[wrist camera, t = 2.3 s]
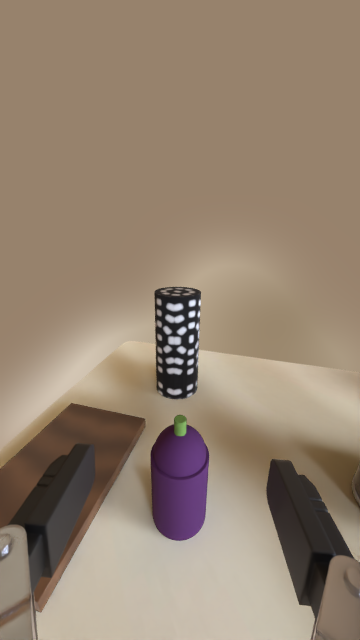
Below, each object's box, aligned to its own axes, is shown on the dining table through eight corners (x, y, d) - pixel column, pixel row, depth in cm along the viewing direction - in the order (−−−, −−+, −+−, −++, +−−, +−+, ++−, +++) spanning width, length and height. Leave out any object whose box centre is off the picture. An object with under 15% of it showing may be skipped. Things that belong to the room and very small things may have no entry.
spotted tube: (205, 388, 50) (210, 292, 44) (172, 405, 46) (173, 299, 39) (180, 371, 57) (181, 285, 50) (149, 384, 52) (145, 290, 45)
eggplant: (182, 475, 32) (183, 392, 28) (216, 514, 28) (224, 422, 24) (142, 506, 29) (137, 415, 24) (174, 555, 24) (175, 455, 20)
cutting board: (72, 409, 44) (71, 402, 44) (145, 426, 41) (145, 418, 40) (-79, 556, 24) (-84, 546, 23) (40, 612, 20) (37, 602, 20)
